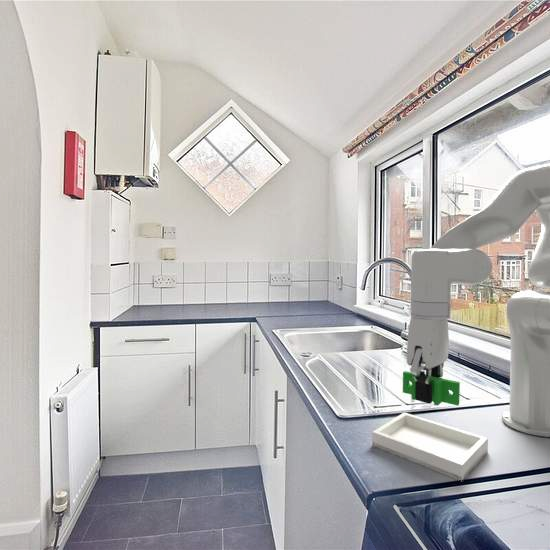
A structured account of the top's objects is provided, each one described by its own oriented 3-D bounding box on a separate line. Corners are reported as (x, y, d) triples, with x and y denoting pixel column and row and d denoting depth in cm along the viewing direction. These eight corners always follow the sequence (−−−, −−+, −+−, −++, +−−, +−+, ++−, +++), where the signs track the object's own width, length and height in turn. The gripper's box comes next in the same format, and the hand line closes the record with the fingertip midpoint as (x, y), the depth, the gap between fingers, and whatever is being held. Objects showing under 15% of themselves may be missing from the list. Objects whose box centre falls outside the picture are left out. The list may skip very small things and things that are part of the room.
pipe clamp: (397, 396, 80) (397, 374, 79) (404, 391, 82) (404, 370, 82) (454, 409, 72) (454, 386, 72) (459, 404, 75) (459, 381, 75)
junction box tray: (404, 424, 89) (404, 412, 89) (487, 452, 76) (487, 438, 76) (372, 445, 79) (372, 431, 79) (461, 481, 66) (462, 465, 66)
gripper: (429, 304, 85) (428, 384, 86) (392, 312, 73) (391, 404, 74) (464, 307, 80) (462, 393, 80) (430, 316, 68) (429, 415, 69)
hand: (428, 397), depth 77 cm, fingers closed on pipe clamp, 4 cm apart
